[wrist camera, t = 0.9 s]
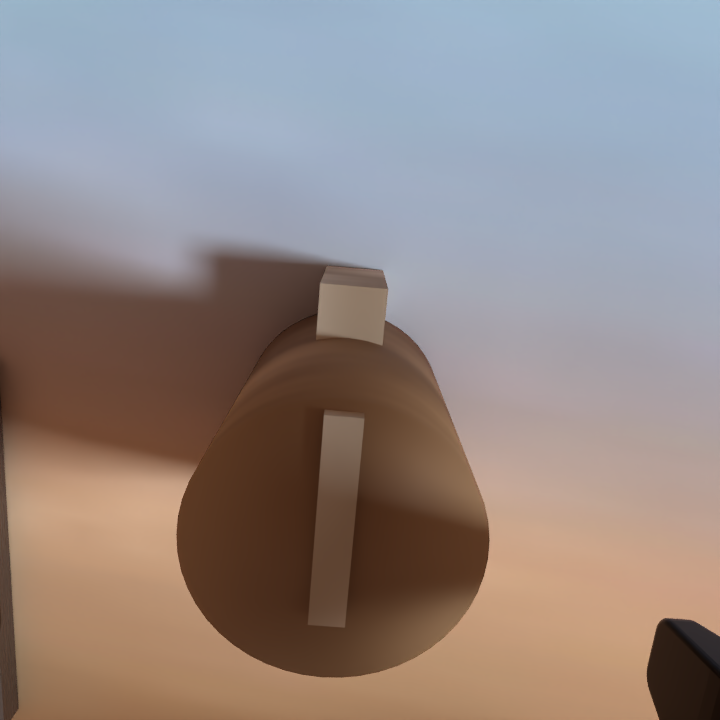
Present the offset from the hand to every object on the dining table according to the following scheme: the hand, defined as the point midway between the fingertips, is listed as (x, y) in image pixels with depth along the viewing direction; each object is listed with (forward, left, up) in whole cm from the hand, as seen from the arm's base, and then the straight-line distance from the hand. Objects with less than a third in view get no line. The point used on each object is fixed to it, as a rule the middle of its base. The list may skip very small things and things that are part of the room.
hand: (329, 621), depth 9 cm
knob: (0, 0, -9) cm, 9 cm away
